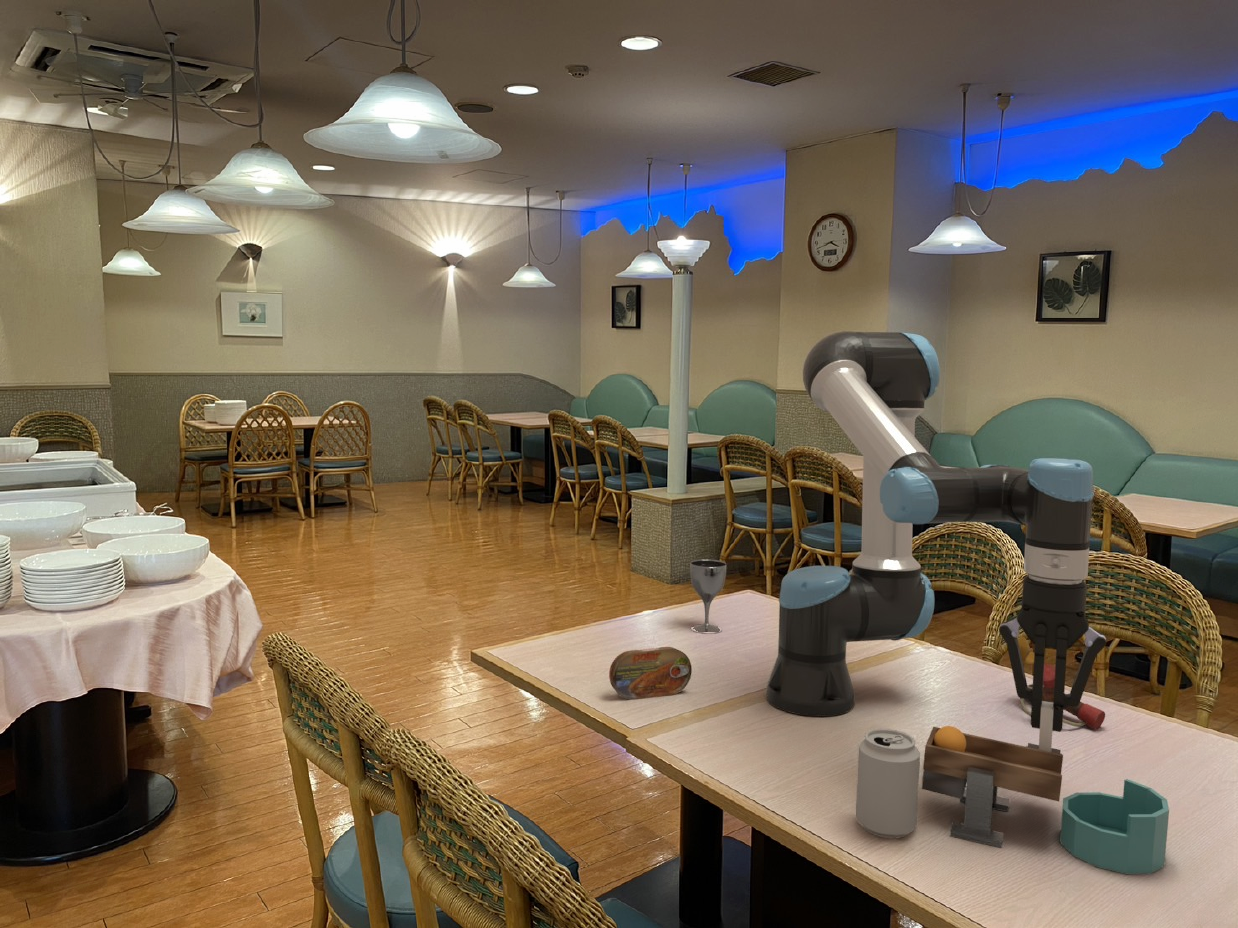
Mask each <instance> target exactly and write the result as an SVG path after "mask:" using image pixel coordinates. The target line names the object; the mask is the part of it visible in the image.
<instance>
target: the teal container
mask: <svg viewBox="0 0 1238 928" xmlns="http://www.w3.org/2000/svg"><path fill="white" fill-rule="evenodd" d="M1061 809H1062V810H1061V822H1060V835H1059V836H1060V837H1059V839H1060V840H1059V841H1060V842H1059V843H1060V844H1061V845H1062V847H1064V848H1065V849H1066V850H1067V851H1068V852H1069V853H1070V854H1071V855H1072V856H1073V857H1075V858H1078V859H1080V860H1082V861H1084V862H1086V863H1088V864H1090V865H1092V866H1094V867H1096V868H1099V869H1105V870H1108V871H1113V872H1117V873H1119V874H1120V873H1121V874H1126V875H1131V874H1132V875H1139V874H1141V875H1143V874H1147V875H1148V874H1149V875H1150V874H1153V873H1154V872H1157V871H1158V870H1160V869H1162V868H1163V867H1165V863H1166V851H1167V840H1168V831H1169V830H1168V829H1169V827H1168V826H1169V814H1170V808H1169V803H1168V799H1166V798H1165V797H1164V796H1163V795H1161V794H1160V793H1159V792H1157V791H1156V790H1155V789H1154V788H1151V787H1149V786H1146V785H1143V784H1141V783H1139V782H1136V781H1133V780H1132V779H1128V778H1126V779H1124V781H1123V794H1122V796H1118V795H1113V794H1110V793H1109V794H1108V793H1105V792H1100V791H1099V792H1098V791H1096V792H1095V791H1093V792H1092V791H1091V792H1090V791H1088V792H1086V791H1085V792H1075V793H1072V794H1070V795H1067V796H1065V797H1063V798H1062V807H1061Z"/></svg>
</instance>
